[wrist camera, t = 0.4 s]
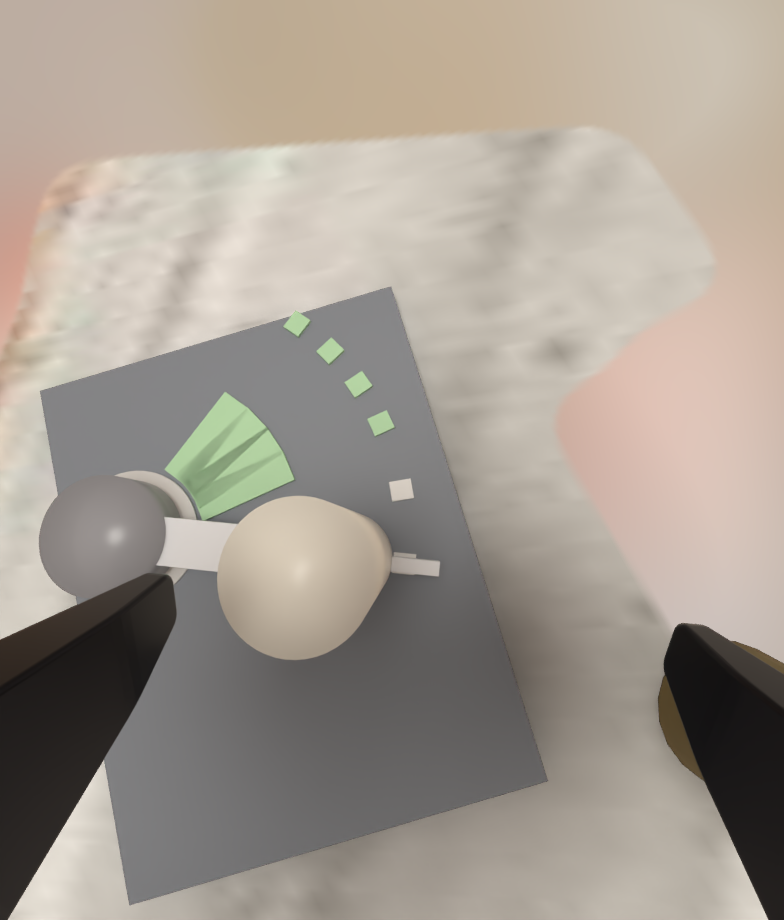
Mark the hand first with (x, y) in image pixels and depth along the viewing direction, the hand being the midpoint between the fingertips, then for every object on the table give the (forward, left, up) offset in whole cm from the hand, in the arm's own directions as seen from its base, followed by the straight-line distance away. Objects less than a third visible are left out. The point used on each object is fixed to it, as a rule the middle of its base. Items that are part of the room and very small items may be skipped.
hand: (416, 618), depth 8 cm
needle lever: (+3, +7, -12) cm, 14 cm away
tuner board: (+2, +6, -14) cm, 15 cm away
